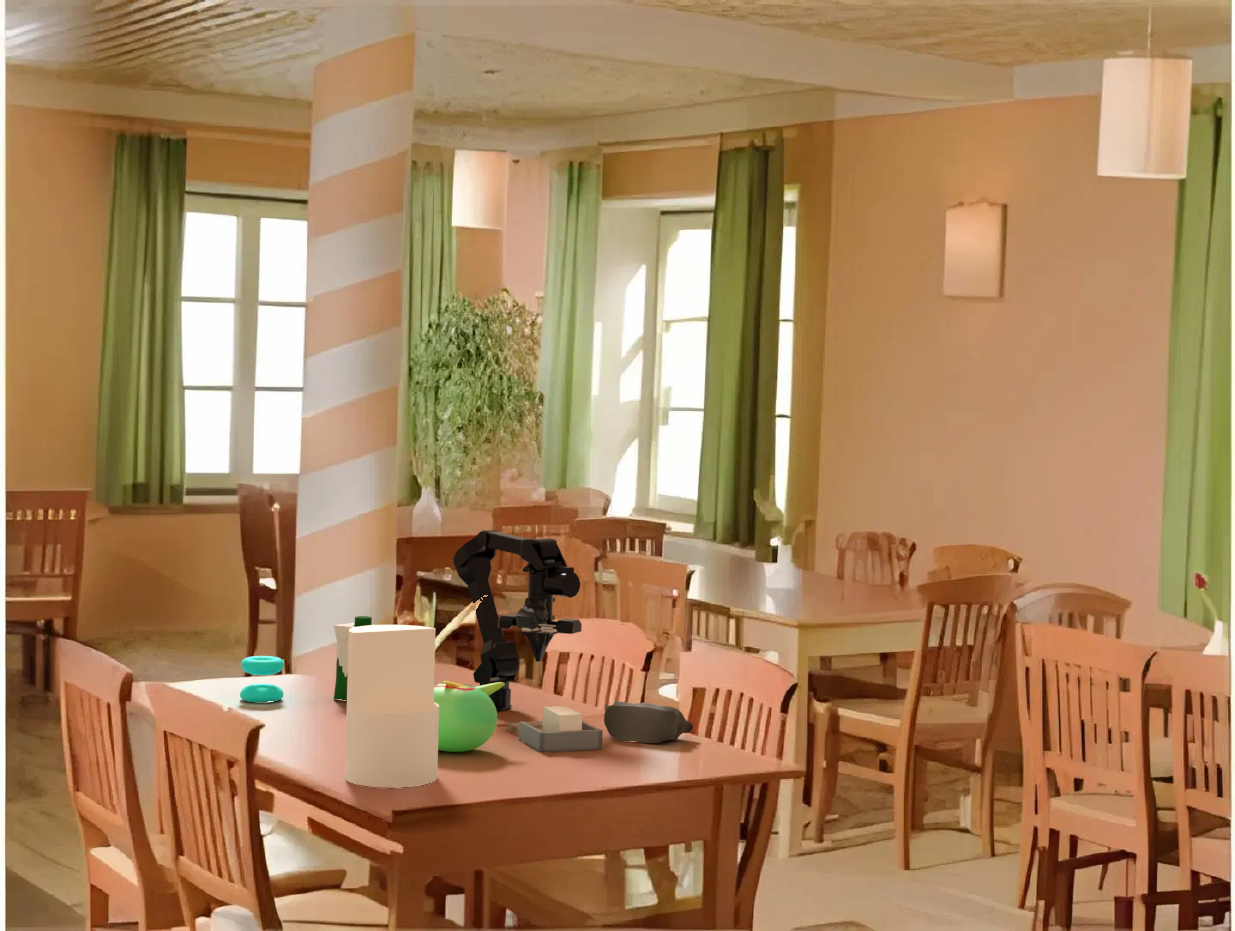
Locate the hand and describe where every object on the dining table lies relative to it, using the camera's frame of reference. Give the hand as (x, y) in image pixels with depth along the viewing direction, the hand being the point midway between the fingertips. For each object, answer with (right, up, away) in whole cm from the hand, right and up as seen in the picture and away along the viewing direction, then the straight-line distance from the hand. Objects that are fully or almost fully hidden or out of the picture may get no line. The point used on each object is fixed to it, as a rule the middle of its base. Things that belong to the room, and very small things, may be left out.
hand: (538, 661), depth 384 cm
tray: (+6, -14, -30) cm, 33 cm away
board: (+1, -14, -18) cm, 23 cm away
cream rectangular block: (+4, -10, -26) cm, 28 cm away
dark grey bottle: (+24, -15, -19) cm, 34 cm away
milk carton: (-45, -11, +16) cm, 49 cm away
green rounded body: (-16, -14, -39) cm, 44 cm away
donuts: (-66, -11, +12) cm, 68 cm away
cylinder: (-25, -15, -66) cm, 72 cm away
